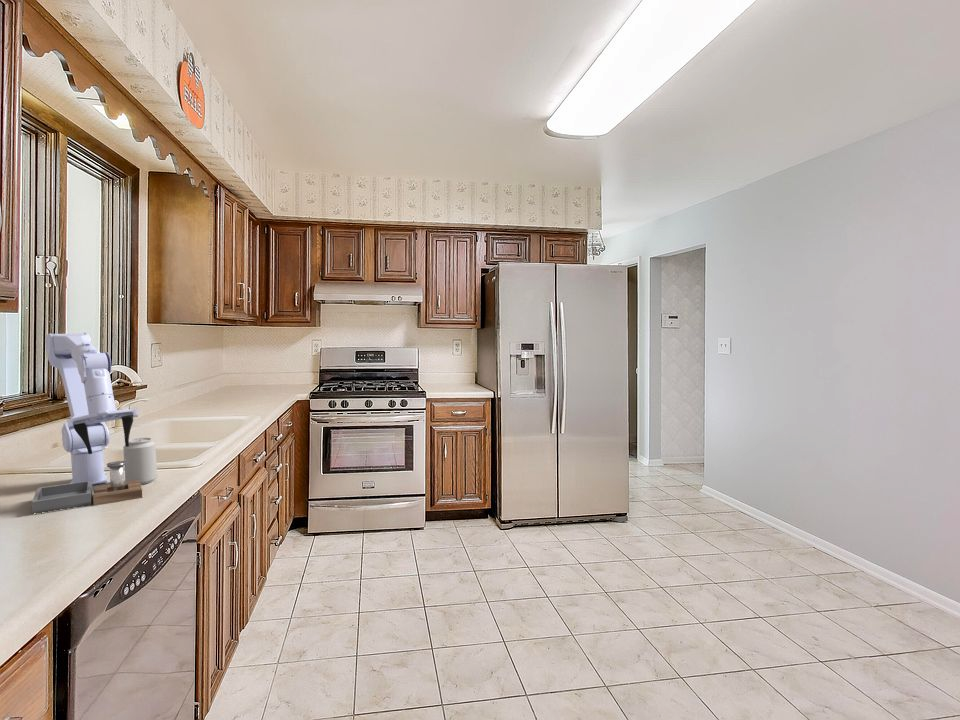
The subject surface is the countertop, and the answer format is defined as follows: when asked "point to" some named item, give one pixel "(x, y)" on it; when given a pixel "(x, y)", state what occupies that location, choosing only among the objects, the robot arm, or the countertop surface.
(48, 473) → the countertop surface
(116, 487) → the pin
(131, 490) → the hitch block
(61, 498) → the tray
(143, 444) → the can
